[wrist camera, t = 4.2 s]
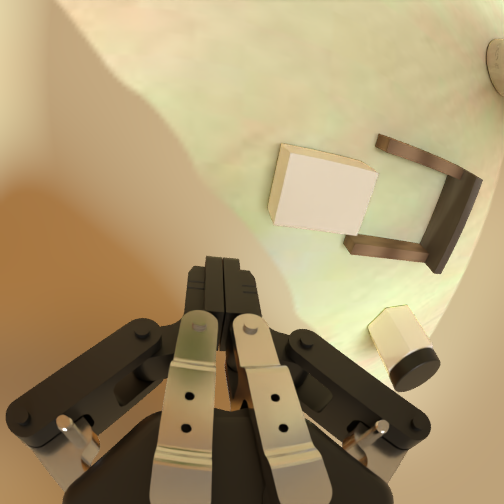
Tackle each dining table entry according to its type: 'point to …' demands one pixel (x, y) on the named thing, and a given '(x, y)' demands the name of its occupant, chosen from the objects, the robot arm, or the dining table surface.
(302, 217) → the white rectangular block
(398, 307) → the jar
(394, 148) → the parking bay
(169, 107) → the dining table surface
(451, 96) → the dining table surface
